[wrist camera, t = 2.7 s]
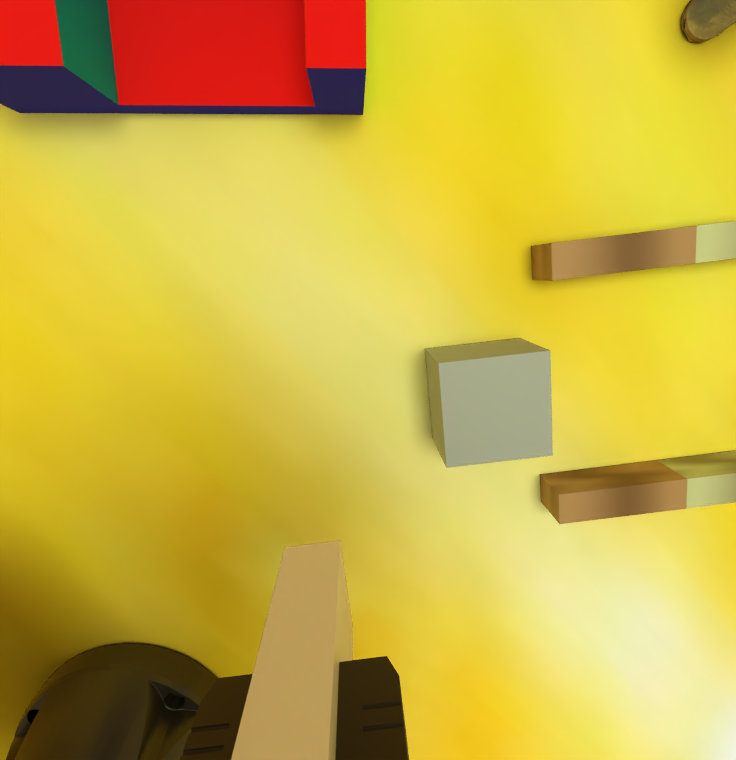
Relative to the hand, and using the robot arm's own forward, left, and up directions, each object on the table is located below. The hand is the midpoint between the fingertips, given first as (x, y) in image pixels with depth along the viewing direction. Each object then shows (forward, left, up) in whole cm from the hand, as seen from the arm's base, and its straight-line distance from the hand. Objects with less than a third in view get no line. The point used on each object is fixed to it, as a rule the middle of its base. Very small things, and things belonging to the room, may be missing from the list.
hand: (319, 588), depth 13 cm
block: (+9, 0, -18) cm, 20 cm away
